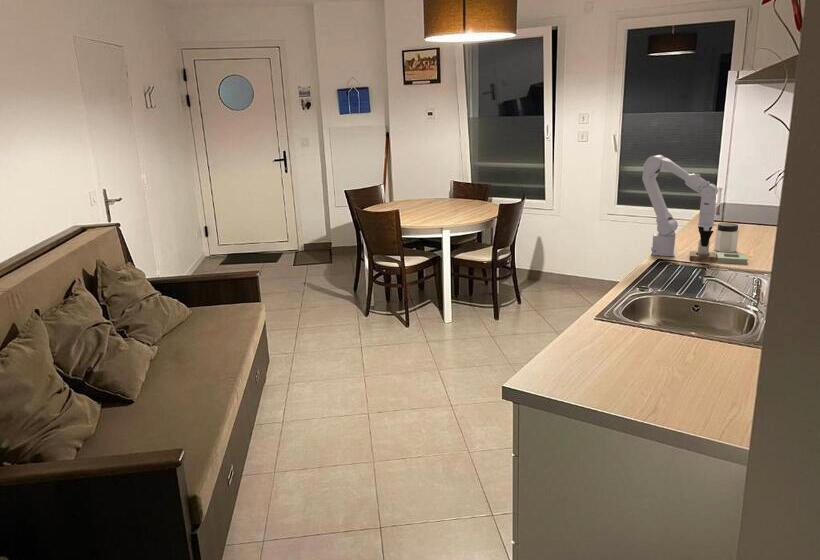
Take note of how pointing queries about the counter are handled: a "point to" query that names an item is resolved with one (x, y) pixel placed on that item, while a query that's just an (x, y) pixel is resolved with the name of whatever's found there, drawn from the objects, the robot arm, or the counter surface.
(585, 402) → the counter surface
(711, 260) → the socket block
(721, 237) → the jar
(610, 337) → the counter surface
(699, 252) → the peg
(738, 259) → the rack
